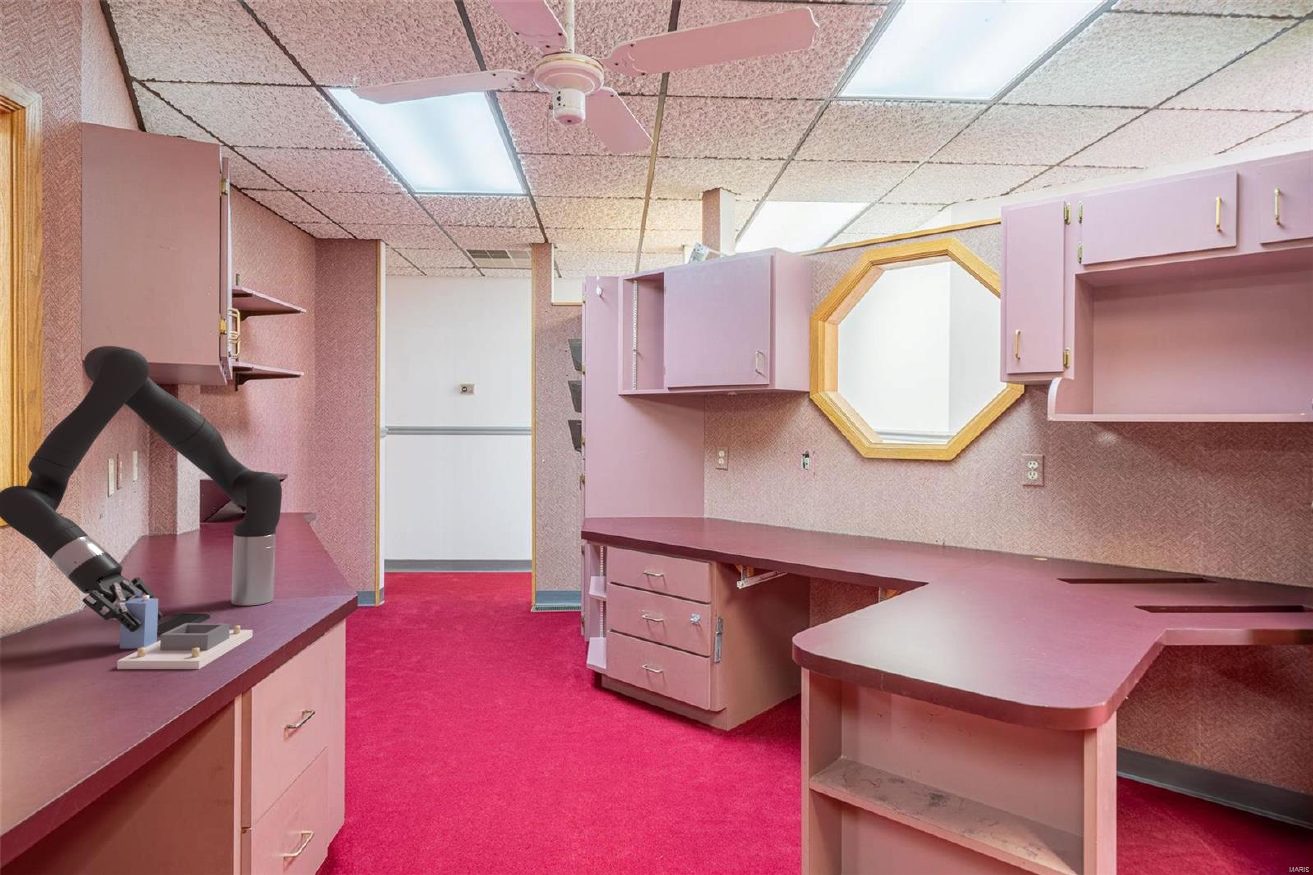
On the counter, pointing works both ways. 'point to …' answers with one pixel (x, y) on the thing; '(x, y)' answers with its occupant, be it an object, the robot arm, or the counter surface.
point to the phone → (179, 621)
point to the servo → (147, 615)
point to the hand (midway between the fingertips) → (148, 623)
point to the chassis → (187, 647)
